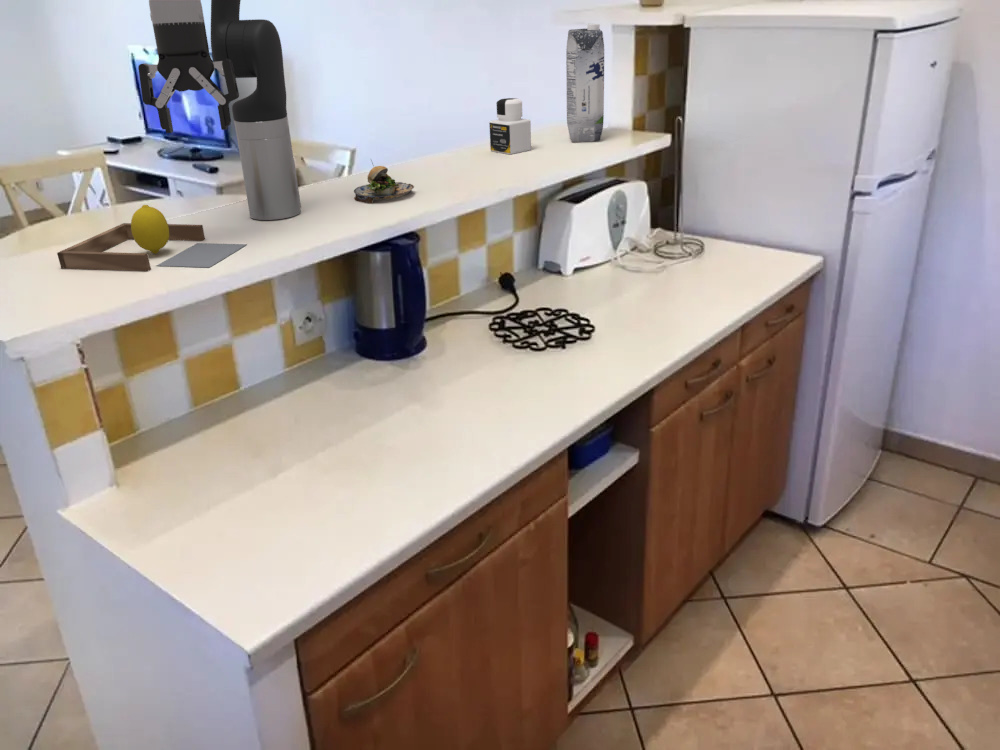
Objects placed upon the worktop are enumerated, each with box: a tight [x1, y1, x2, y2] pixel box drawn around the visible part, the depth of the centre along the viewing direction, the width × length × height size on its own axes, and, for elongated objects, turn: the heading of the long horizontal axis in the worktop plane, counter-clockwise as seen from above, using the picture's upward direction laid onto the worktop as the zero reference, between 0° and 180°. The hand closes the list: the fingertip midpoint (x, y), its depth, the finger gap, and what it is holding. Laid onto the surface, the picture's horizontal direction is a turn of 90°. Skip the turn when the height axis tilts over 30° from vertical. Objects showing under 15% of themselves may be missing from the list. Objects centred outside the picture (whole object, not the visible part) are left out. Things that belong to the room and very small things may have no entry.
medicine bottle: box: [488, 97, 532, 155], centre depth 201 cm, size 7×7×12 cm
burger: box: [353, 159, 415, 205], centre depth 165 cm, size 12×12×8 cm
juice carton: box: [565, 23, 605, 143], centre depth 208 cm, size 9×10×27 cm
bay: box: [56, 222, 206, 272], centre depth 137 cm, size 17×15×2 cm
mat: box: [155, 242, 247, 269], centre depth 135 cm, size 12×9×1 cm
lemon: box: [130, 204, 170, 255], centre depth 135 cm, size 6×6×8 cm
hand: (197, 131), depth 135 cm, fingers open, 8 cm apart
